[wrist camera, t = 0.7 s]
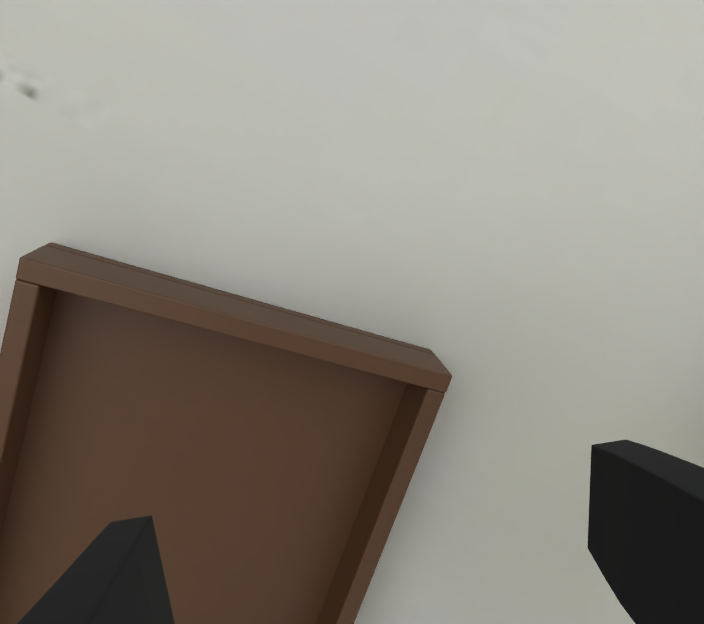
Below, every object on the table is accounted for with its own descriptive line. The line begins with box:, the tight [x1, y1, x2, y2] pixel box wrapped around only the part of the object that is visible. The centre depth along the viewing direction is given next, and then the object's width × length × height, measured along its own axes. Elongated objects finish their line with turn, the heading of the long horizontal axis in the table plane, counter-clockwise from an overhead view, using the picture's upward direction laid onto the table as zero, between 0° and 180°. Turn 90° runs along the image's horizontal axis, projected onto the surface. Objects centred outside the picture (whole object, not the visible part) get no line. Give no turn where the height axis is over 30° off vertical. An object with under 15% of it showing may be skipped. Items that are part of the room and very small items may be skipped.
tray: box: [0, 243, 452, 624], centre depth 19 cm, size 16×12×2 cm
